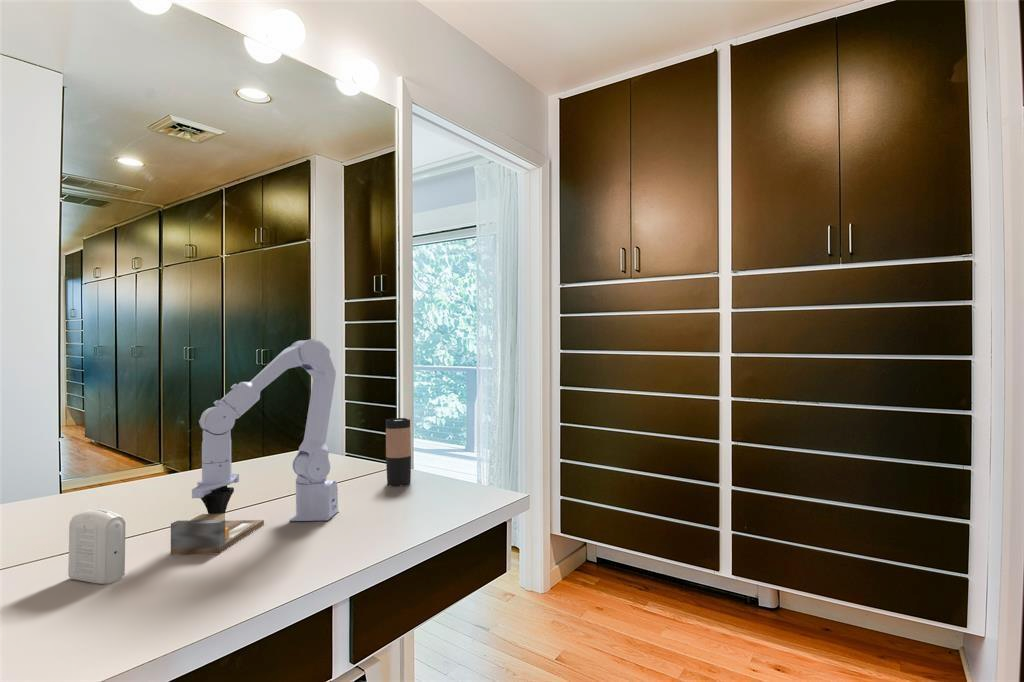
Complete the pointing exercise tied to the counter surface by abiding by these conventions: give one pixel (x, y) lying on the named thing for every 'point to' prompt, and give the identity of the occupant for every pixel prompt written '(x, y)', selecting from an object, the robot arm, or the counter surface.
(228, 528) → the block
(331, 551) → the counter surface
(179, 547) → the base
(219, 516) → the tan rectangular block
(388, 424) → the travel mug
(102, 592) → the counter surface
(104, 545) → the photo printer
